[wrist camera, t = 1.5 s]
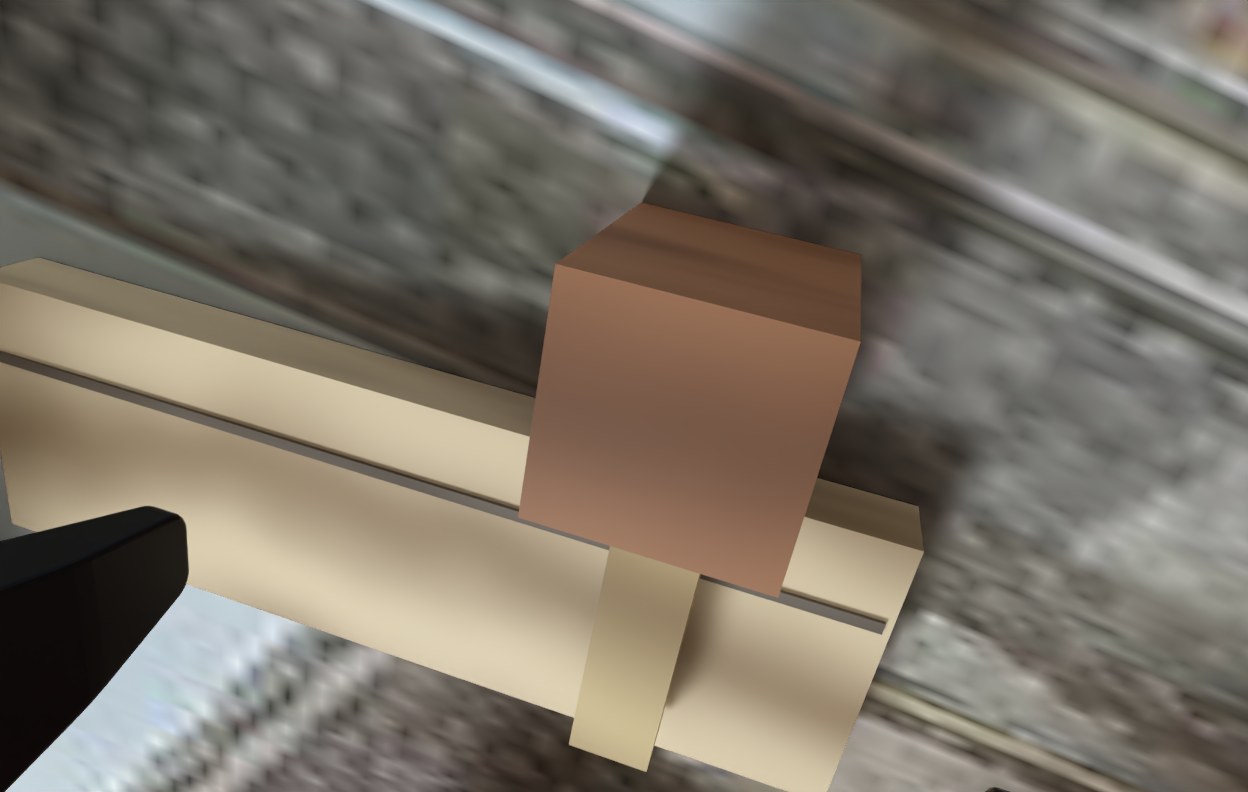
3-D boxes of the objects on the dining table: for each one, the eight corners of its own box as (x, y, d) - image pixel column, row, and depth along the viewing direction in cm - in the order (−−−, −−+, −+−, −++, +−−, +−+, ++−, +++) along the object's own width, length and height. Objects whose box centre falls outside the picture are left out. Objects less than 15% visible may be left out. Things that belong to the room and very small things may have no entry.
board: (825, 745, 23) (822, 806, 21) (67, 492, 27) (8, 525, 25) (918, 506, 20) (924, 554, 18) (38, 257, 24) (-32, 275, 22)
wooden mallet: (729, 682, 23) (690, 870, 18) (562, 627, 24) (477, 792, 19) (861, 254, 18) (860, 341, 13) (642, 202, 19) (555, 263, 14)
